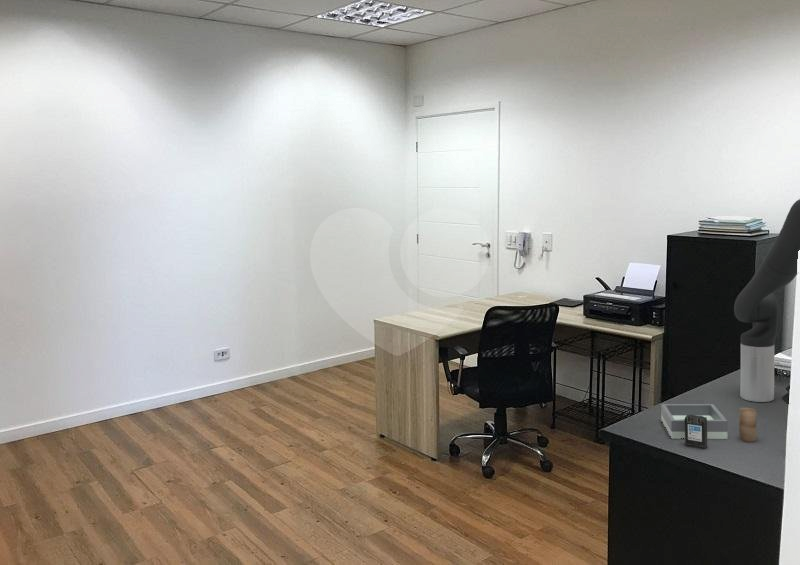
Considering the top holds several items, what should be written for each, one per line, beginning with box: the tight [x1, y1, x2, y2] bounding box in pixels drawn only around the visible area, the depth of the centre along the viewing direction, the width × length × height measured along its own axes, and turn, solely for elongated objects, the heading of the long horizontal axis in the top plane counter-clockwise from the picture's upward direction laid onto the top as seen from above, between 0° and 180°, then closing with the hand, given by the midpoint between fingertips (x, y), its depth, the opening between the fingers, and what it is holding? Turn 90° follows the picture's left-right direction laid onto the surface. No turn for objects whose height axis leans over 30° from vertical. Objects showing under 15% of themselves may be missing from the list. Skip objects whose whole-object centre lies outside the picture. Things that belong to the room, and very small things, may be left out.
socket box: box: [660, 403, 728, 440], centre depth 186 cm, size 14×14×5 cm
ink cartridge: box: [684, 415, 708, 450], centre depth 174 cm, size 5×2×8 cm, turn 51°
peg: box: [738, 407, 758, 443], centre depth 176 cm, size 4×4×8 cm
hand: (786, 396), depth 170 cm, fingers open, 8 cm apart
